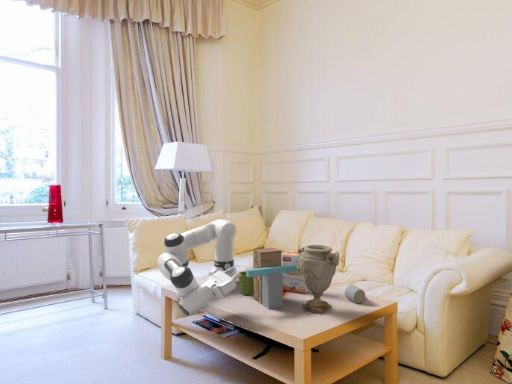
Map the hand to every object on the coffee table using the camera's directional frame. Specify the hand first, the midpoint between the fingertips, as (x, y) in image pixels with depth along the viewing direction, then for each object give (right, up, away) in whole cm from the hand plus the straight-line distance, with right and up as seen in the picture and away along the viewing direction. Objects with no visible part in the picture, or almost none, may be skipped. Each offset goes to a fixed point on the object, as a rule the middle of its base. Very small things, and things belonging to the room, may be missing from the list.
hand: (236, 271), depth 173 cm
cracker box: (+32, -19, +33) cm, 49 cm away
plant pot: (+5, -19, +30) cm, 36 cm away
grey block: (+18, -19, +9) cm, 27 cm away
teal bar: (+17, -3, +8) cm, 19 cm away
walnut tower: (+15, -19, +18) cm, 30 cm away
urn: (+39, -19, +2) cm, 44 cm away
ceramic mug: (+61, -19, +14) cm, 65 cm away
